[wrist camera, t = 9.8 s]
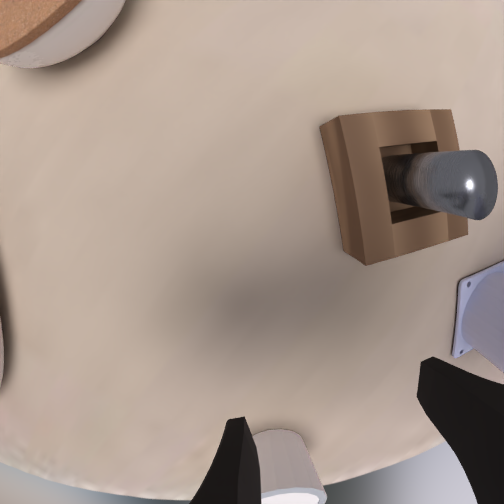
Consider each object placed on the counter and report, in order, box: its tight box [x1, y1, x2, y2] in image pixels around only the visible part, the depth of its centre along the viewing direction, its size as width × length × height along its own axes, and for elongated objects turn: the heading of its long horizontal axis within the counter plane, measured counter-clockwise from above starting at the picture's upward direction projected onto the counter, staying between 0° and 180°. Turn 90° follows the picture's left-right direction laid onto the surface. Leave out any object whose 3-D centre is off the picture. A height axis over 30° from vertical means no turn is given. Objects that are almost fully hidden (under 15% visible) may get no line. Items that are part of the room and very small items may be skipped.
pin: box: [381, 150, 498, 220], centre depth 13 cm, size 3×3×8 cm
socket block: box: [320, 110, 468, 266], centre depth 16 cm, size 8×8×4 cm
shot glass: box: [252, 429, 327, 504], centre depth 19 cm, size 7×7×7 cm
